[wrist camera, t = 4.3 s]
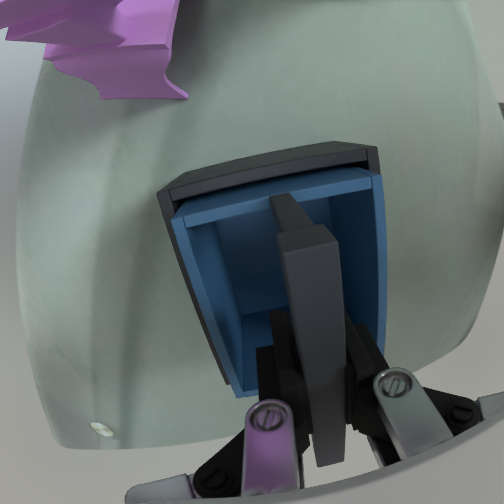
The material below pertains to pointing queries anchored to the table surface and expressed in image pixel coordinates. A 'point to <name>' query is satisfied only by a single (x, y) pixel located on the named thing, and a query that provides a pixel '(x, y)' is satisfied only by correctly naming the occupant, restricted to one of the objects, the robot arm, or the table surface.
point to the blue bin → (291, 277)
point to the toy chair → (102, 41)
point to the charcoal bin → (250, 172)
